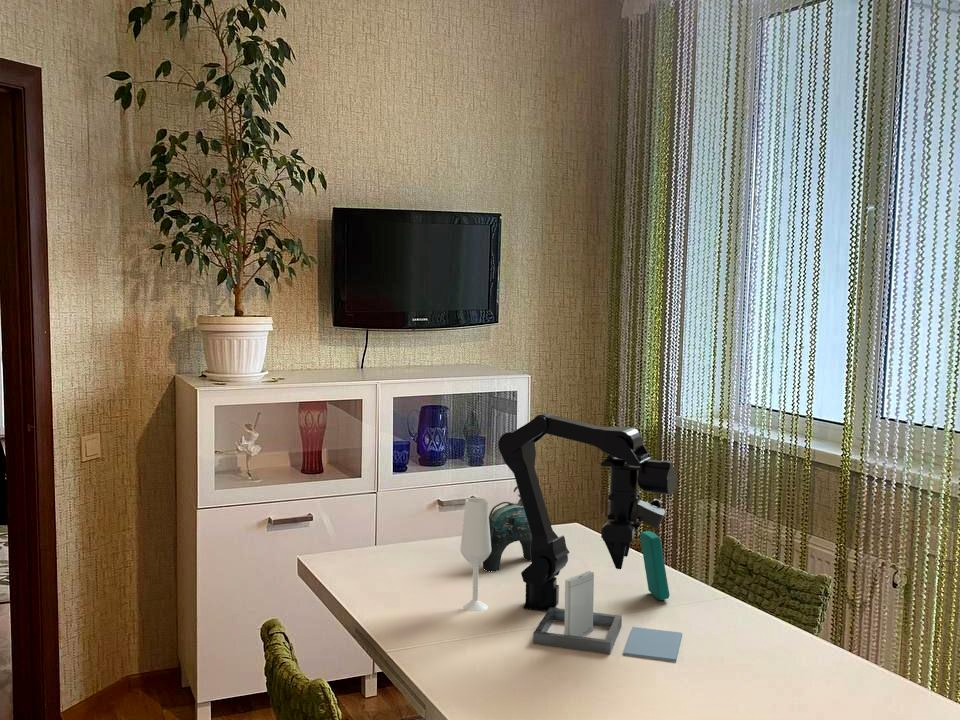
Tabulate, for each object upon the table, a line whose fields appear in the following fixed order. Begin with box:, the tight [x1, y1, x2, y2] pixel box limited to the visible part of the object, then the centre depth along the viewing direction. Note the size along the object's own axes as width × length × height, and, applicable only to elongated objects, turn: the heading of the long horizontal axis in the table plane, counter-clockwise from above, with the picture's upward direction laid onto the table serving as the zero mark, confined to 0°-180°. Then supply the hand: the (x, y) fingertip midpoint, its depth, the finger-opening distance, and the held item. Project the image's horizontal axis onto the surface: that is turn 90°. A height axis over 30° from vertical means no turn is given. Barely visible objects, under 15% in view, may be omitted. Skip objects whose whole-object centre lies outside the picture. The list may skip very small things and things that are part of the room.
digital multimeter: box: [639, 530, 670, 601], centre depth 214 cm, size 7×15×3 cm
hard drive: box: [563, 571, 595, 637], centre depth 190 cm, size 2×8×12 cm, turn 138°
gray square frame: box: [532, 607, 623, 655], centre depth 191 cm, size 15×15×2 cm
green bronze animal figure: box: [482, 486, 547, 573], centre depth 236 cm, size 20×6×20 cm, turn 133°
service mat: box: [622, 626, 683, 663], centre depth 187 cm, size 10×14×1 cm
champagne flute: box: [459, 497, 491, 612], centre depth 205 cm, size 7×7×24 cm
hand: (621, 562), depth 197 cm, fingers open, 9 cm apart
